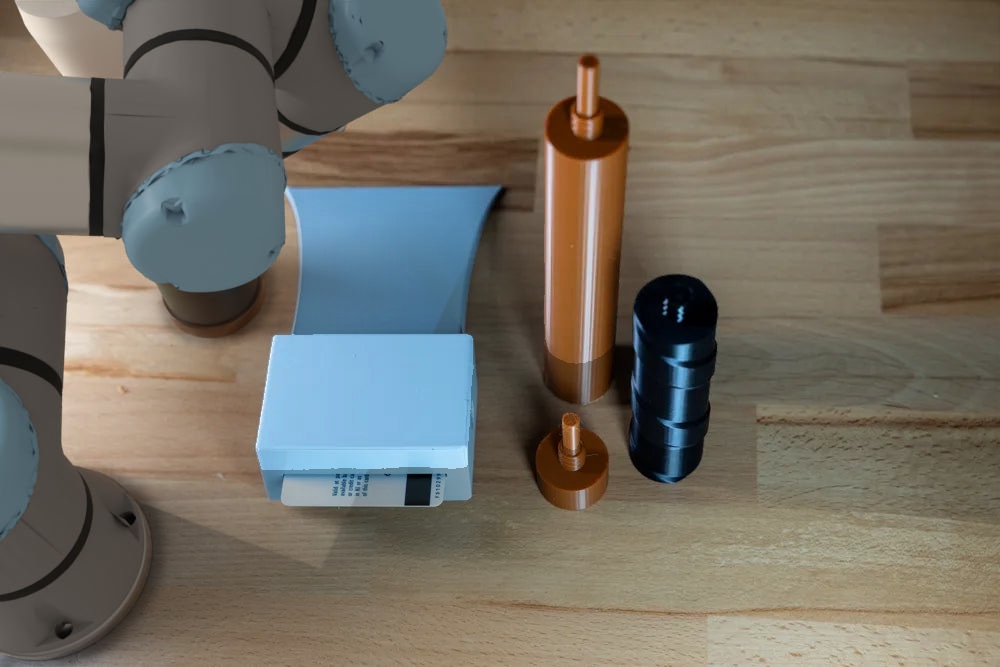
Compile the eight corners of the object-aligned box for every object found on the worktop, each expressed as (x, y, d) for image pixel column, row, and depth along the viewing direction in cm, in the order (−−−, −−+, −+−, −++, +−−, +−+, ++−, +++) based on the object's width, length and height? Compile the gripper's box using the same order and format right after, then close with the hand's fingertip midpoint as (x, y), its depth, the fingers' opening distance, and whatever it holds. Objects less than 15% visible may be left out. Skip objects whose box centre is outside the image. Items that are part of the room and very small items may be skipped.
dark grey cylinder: (237, 350, 103) (208, 288, 94) (148, 321, 105) (112, 257, 96) (283, 269, 107) (259, 203, 99) (196, 242, 109) (165, 175, 101)
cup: (99, 120, 117) (55, 33, 107) (39, 81, 120) (-10, -8, 110) (164, 65, 121) (127, -25, 110) (103, 28, 124) (62, -63, 114)
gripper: (244, 255, 74) (105, 315, 91) (377, 30, 84) (228, 124, 101) (146, 180, 71) (21, 257, 88) (296, -45, 80) (157, 65, 97)
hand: (132, 186), depth 94 cm, fingers closed on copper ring, 8 cm apart
